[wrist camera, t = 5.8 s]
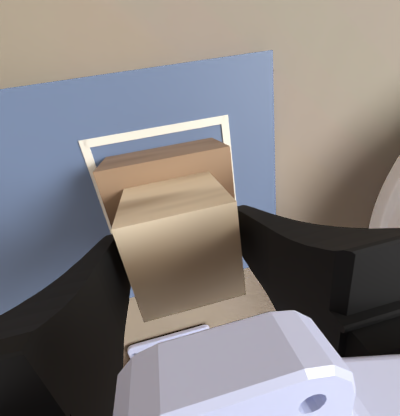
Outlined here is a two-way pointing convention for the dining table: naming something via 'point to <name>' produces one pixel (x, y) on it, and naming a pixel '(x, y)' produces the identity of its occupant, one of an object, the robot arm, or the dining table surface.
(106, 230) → the board
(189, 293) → the maple cube
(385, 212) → the plate stack
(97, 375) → the robot arm
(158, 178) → the walnut base
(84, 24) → the dining table surface
